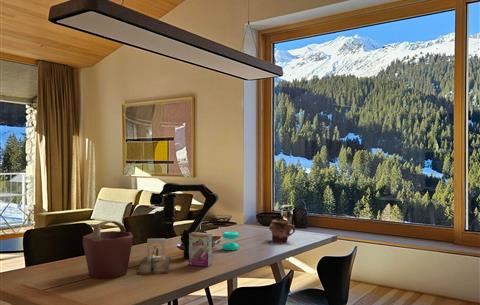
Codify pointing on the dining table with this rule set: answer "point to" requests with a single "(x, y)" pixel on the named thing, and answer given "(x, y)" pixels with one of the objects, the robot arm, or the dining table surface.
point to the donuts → (230, 245)
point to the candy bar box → (200, 249)
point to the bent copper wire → (153, 257)
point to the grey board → (159, 266)
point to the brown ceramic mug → (281, 230)
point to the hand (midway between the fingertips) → (169, 233)
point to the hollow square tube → (149, 241)
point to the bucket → (107, 251)
